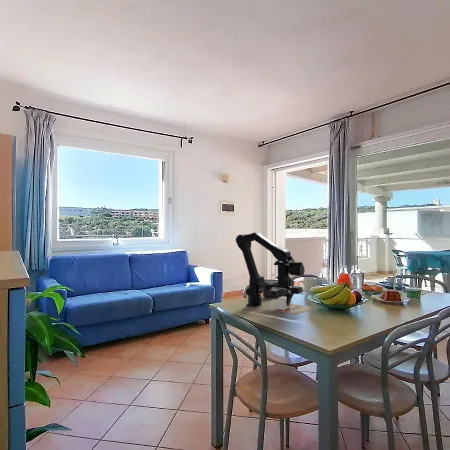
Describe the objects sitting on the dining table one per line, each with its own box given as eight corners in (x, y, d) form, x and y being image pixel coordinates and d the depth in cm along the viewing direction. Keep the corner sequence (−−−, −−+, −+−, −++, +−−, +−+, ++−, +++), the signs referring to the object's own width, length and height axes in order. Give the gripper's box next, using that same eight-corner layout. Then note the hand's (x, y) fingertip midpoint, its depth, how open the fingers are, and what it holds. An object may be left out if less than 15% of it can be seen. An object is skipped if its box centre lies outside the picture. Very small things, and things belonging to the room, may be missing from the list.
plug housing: (275, 308, 158) (275, 299, 158) (284, 304, 166) (284, 295, 166) (284, 310, 155) (284, 300, 155) (293, 305, 163) (293, 297, 163)
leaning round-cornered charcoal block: (287, 295, 193) (287, 280, 193) (289, 297, 189) (289, 281, 189) (261, 296, 191) (261, 281, 191) (263, 298, 186) (263, 282, 186)
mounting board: (270, 311, 158) (270, 305, 158) (286, 304, 172) (286, 298, 172) (297, 316, 149) (297, 309, 149) (313, 308, 163) (313, 302, 163)
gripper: (307, 274, 160) (307, 304, 160) (274, 270, 172) (274, 299, 172) (297, 277, 151) (297, 309, 151) (264, 273, 163) (264, 303, 163)
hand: (283, 305), depth 160 cm, fingers closed on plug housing, 5 cm apart
